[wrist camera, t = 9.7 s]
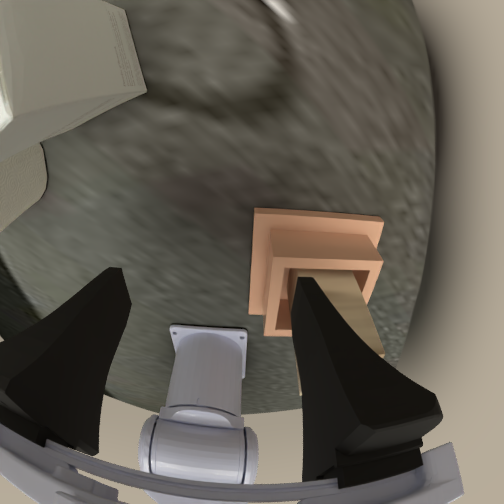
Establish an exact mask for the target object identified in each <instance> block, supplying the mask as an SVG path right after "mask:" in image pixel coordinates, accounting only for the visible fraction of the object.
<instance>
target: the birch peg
mask: <svg viewBox="0 0 504 504" xmlns="http://www.w3.org/2000/svg"><path fill="white" fill-rule="evenodd" d="M298 277H313V278H314V279H315V280H316V282H317V283H318V285H319V286H320V288H321V289H322V290H323V292H324V293H325V295H326V296H327V297H328V299H329V300H330V302H331V303H332V304H333V306H334V307H335V308H336V309H337V311H338V312H339V313H340V315H341V316H342V317H343V318H344V320H345V321H346V322H347V323H348V324H349V326H350V327H351V328H352V329H353V330H354V331H355V332H356V334H357V335H358V336H359V337H360V338H361V339H362V340H363V341H364V342H365V343H366V344H367V345H368V346H369V347H370V348H371V349H372V350H373V351H375V352H376V353H377V354H378V355H379V356H380V357H381V358H383V357H384V355H385V352H384V349H383V346H382V344H381V341H380V338H379V335H378V333H377V330H376V328H375V325H374V322H373V320H372V317H371V315H370V312H369V310H368V307H367V305H366V303H365V300H364V298H363V295H362V293H361V291H360V288H359V286H358V284H357V281H356V279H355V277H354V274H353V272H352V270H337V269H305V268H290V269H289V275H288V282H287V296H288V303H289V310H290V318H291V309H292V304H293V299H294V294H295V289H296V283H297V278H298ZM294 350H295V349H294ZM295 358H296V355H295ZM296 366H297V360H296ZM297 375H298V384H299V393H300V395H302V391H301V383H300V377H299V371H298V366H297Z"/></svg>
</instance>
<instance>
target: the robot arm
mask: <svg viewBox="0 0 504 504" xmlns="http://www.w3.org/2000/svg"><path fill="white" fill-rule="evenodd" d="M131 305H132V303H131V300H130V296H129V293H128V290H127V286H126V283H125V279H124V276H123V272H122V268H114V267H109V268H107V269H106V270H104V271H103V272H102V273H101V274H99V275H98V276H97V277H96V278H94V279H93V280H92V281H91V282H89V283H88V284H87V285H86V286H85V287H83V288H82V289H81V290H80V291H79V292H77V293H76V294H75V295H74V296H73V297H71V298H70V299H69V300H68V301H66V302H65V303H64V304H62V305H61V306H60V307H59V308H57V309H56V310H55V311H53V312H52V313H51V314H49V315H48V316H46V317H45V318H43V319H42V320H41V321H39V322H37V323H36V324H34V325H33V326H31V327H29V328H27V329H26V330H24V331H22V332H21V333H19V334H17V335H15V336H13V337H11V338H9V339H7V340H5V341H3V342H0V474H1V475H2V476H3V477H4V478H5V479H6V480H8V481H9V482H10V483H11V484H13V485H14V486H15V487H17V488H18V489H19V490H20V491H22V492H23V493H24V494H26V495H27V496H28V497H30V498H31V499H32V500H34V501H35V502H37V503H39V504H128V503H125V502H121V501H118V499H117V497H118V490H117V489H115V488H112V487H109V486H107V485H104V484H102V483H100V482H98V481H96V480H93V479H91V478H88V477H86V476H83V475H81V474H79V473H78V471H77V470H76V468H77V469H80V470H82V471H85V472H87V473H90V474H93V475H96V476H99V477H102V478H105V479H108V480H111V481H114V482H117V483H121V484H124V485H128V486H131V487H136V488H139V489H143V491H144V492H145V493H146V494H148V495H149V496H150V497H151V498H152V499H153V500H154V501H156V502H157V503H158V504H247V503H249V502H283V501H296V500H297V501H298V500H301V501H299V502H298V503H297V504H449V503H451V502H452V501H454V500H456V499H458V498H459V497H461V496H463V495H464V491H463V485H462V480H461V476H460V471H459V467H458V463H457V459H456V455H455V452H454V448H453V445H452V442H449V443H446V444H444V445H441V446H439V447H436V448H434V449H431V450H428V451H426V452H424V453H422V454H421V452H420V447H422V446H423V442H422V438H421V437H422V436H424V435H425V434H427V433H428V432H429V431H431V430H432V429H433V428H435V427H436V426H437V425H438V424H439V423H440V422H441V421H442V419H443V414H442V411H441V408H440V405H439V402H438V400H437V397H436V395H435V394H434V393H432V392H430V391H429V390H427V389H425V388H424V387H422V386H420V385H419V384H417V383H415V382H413V381H412V380H411V379H409V378H408V377H406V376H405V375H403V374H402V373H400V372H399V371H398V370H396V369H395V368H394V367H392V366H391V365H390V364H389V363H387V362H386V361H385V360H384V359H383V358H381V357H380V356H379V355H378V354H377V353H376V352H375V351H373V350H372V349H371V348H370V347H369V346H368V345H367V344H366V343H365V342H364V341H363V340H362V339H361V338H360V337H359V336H358V335H357V334H356V332H355V331H354V330H353V329H352V328H351V327H350V326H349V324H348V323H347V322H346V321H345V320H344V318H343V317H342V316H341V315H340V313H339V312H338V311H337V309H336V308H335V307H334V306H333V304H332V303H331V302H330V300H329V299H328V297H327V296H326V295H325V293H324V292H323V290H322V289H321V288H320V286H319V285H318V283H317V282H316V280H315V279H314V278H313V277H298V278H297V283H296V289H295V294H294V299H293V304H292V309H291V328H292V338H293V344H294V349H295V355H296V360H297V366H298V371H299V377H300V383H301V391H302V409H303V471H302V482H299V483H284V484H253V483H254V481H255V478H256V474H257V468H258V440H257V435H256V434H255V433H254V431H252V429H251V428H250V427H244V418H243V417H241V388H242V379H243V378H245V367H246V349H247V331H246V330H245V329H230V328H212V327H197V326H184V325H171V326H170V333H171V337H172V341H173V345H174V349H175V352H176V356H175V361H174V366H173V370H172V375H171V380H170V385H169V390H168V395H167V400H166V405H165V407H161V409H160V414H159V416H158V415H152V416H151V417H150V418H148V419H147V420H146V421H145V423H144V425H143V427H142V431H141V434H140V440H139V447H138V448H139V449H138V459H139V460H138V461H139V466H140V471H138V470H134V469H130V468H126V467H123V466H119V465H116V464H112V463H109V462H106V461H102V460H99V459H96V458H93V457H90V456H94V455H96V454H98V453H99V425H100V414H101V407H102V401H103V395H104V389H105V385H106V380H107V376H108V372H109V369H110V366H111V363H112V360H113V358H114V355H115V352H116V350H117V347H118V345H119V342H120V339H121V337H122V334H123V332H124V329H125V327H126V324H127V320H128V317H129V313H130V309H131ZM242 336H243V337H242ZM69 448H71V449H69ZM72 449H73V450H72ZM74 450H77V451H79V452H77V451H74ZM80 452H82V453H85V454H88V455H90V456H88V455H85V454H82V453H80Z"/></svg>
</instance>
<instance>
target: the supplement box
mask: <svg viewBox="0 0 504 504" xmlns="http://www.w3.org/2000/svg"><path fill="white" fill-rule="evenodd" d="M146 92H147V89H146V85H145V82H144V78H143V75H142V71H141V68H140V65H139V61H138V57H137V54H136V50H135V46H134V43H133V39H132V35H131V31H130V28H129V24H128V20H127V17H126V13H125V10H123V9H121V8H119V7H116V6H114V5H112V4H110V3H107V2H104V1H102V0H0V162H2V161H3V160H5V159H7V158H9V157H11V156H13V155H15V154H17V153H19V152H21V151H23V150H25V149H27V148H29V147H31V146H33V145H35V144H37V143H40V142H42V141H44V140H46V139H49V138H51V137H54V136H56V135H59V134H61V133H64V132H67V131H69V130H72V129H74V128H76V127H77V126H79V125H81V124H83V123H85V122H87V121H88V120H90V119H92V118H94V117H96V116H98V115H100V114H102V113H104V112H106V111H108V110H109V109H111V108H113V107H115V106H118V105H120V104H122V103H124V102H126V101H128V100H130V99H133V98H135V97H137V96H139V95H141V94H144V93H146Z"/></svg>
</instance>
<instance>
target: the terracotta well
mask: <svg viewBox="0 0 504 504" xmlns="http://www.w3.org/2000/svg"><path fill="white" fill-rule="evenodd" d="M383 225H384V222H383V220H382V219H381V218H380V217H379V216H368V215H358V214H346V213H334V212H321V211H307V210H291V209H274V208H254V223H253V241H252V258H251V276H250V294H249V314H256V315H263V324H264V336H292V328H291V318H290V310H289V303H288V296H287V282H288V275H289V269H290V268H305V269H337V270H352V272H353V274H354V277H355V279H356V281H357V284H358V286H359V288H360V291H361V293H362V295H363V298H364V300H365V303H366V305H367V303H368V301H369V298H370V296H371V293H372V291H373V288H374V286H375V283H376V280H377V278H378V275H379V272H380V270H381V267H382V264H383V259H382V258H381V256H380V254H379V253H378V251H377V250H376V248H377V245H378V242H379V238H380V235H381V232H382V228H383Z"/></svg>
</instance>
